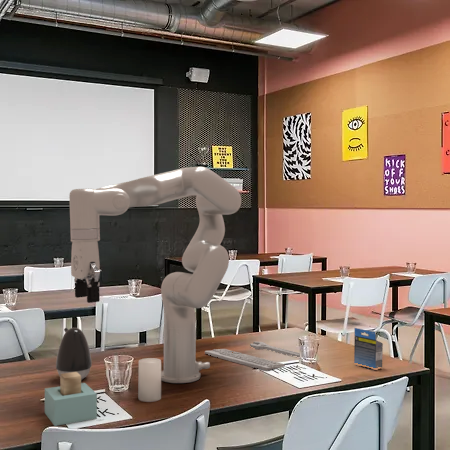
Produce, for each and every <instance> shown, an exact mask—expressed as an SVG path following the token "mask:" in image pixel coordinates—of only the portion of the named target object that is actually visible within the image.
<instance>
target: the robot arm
mask: <svg viewBox="0 0 450 450" xmlns="http://www.w3.org/2000/svg"><path fill="white" fill-rule="evenodd" d="M193 196H195V197H196V198H195V205H196V209H197V211H198V215H199V217H198V218H199V224H198V227H197V229H196V231H195V233H194V235H193V236H192V238H191V240H190V242H189V244H188V245H187V247H186V249H185V250H184V252H183V254H182V258H181V264H182V266H183V268H184V269H185V270H187V271H188V272H190V273H188V272H182V271H175V272H171V273H169V274H167V275H166V276H165V278H163V280H162V283H161V286H160V295H161V301H162V306H163V307H162V308H163V370H161V382H165V383H170V384H186V383H187V384H188V383H193V382H196V381H198V380H199V379H200V378H201V376H202V375H201V372H200V371H202V370H207V369H210V367H211V363H210V361H205V362H202V361H197V360H196V351H197V349H196V342H197V341H196V337H197V333H196V332H197V327H196V326H197V318H196V312H195V309H200V308H204V307H206V305H208V304H209V303H210V301H211V300H212V298H213V297H214V295H215V294H216V292H217V289H219V286H220V284H221V282H222V280H223V278H224V277H225V275H226V272H227V271H228V268H229V262H230V256H229V252H228V251H227V248H225V247H224V246H222V245H221V243H222V242H223V239H224V237H225V232H226V227H225V222H224V221H225V220H224V217H223V216H225V215H227V216H228V215H232V214H235V213H237V212H238V211H239V210H240V208H241V205H242V197H241V196H242V195H241V194H240V192H239V190H238V189H237V187H235V186H234V185H232V184H231V183H229V182H228V181H227V180H225V179H224V178H223V177H221V176H220V175H219V174H217V173H216V172H214V171H213V170H211V169H209V168H207V167H205V166H191V167H189V166H188V167H182V168H177V169H174V170H170V171H165V172H160V173H157V174H152V175H147V176H143V177H139V178H136V179H133V180H129V181H125V182H120V183H116V184H112V185H111V184H110V185H107V186H103V187H102V186H101V187H99V188H96V189H94V188H75V189H72V190H70V192H69V197H68V198H69V218H70V219H69V221H70V222H69V223H70V226H69V227H70V242H71V255H70V256H71V260H70V265H71V267H70V274H71V276H72V277H73V278H74V298H76V299H78V298H79V299H80V298H85V297H86V302H87V303H90V304H91V303H98V302H100V280H101V279H100V274H101V271H100V270H101V269H100V267H101V265H100V264H101V263H100V253H99V250H100V249H99V243H98V242H99V241H100V240H101V234H100V232H101V231H100V230H101V229H100V227H101V226H100V216H119V215H123V214H124V213H126V212H127V211H128V209H129V208H135V207H149V206H150V207H151V206H152V207H153V206H157V205H161V204H164V203H168V202H171V201H174V200H178V199H183V198H186V197H193Z"/></svg>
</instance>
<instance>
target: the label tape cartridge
mask: <svg viewBox="0 0 450 450" xmlns="http://www.w3.org/2000/svg"><path fill="white" fill-rule="evenodd" d="M376 335H377V334H376V331H371V330H368V329H362V328H357V327H354V346H353V347H354V353H353V354H354V356H353V357H354V360H353V361H354V363H358V364H362V365H366V366H369V367H373V368H378V367H382V368H383V352H384V350H383V345H384V344H383V343H382V342H381V341H378V340H377V337H376ZM354 363H353V364H354Z"/></svg>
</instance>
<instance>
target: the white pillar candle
mask: <svg viewBox="0 0 450 450" xmlns="http://www.w3.org/2000/svg"><path fill="white" fill-rule="evenodd" d="M161 371H162V359H160V358H156V357H148V358H147V357H146V358H142V359H141V358H140V359H139V360H138V374H137V375H138V381H137V383H138V386H137V387H138V391H137V392H138V393H137V394H138V395H137V396H138V401H141V402H146V403H153V402H157V401H160V400H161V399H162V380H161Z"/></svg>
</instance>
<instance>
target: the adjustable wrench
mask: <svg viewBox="0 0 450 450" xmlns="http://www.w3.org/2000/svg"><path fill="white" fill-rule="evenodd" d="M250 346H251V347H253V348H255V349H254V350H263V349H267V350H266V351H269V350H271V351H270V352H273V351H275V352H274V353H277V352H279V353H278V354H281V353H282V354H281V355H285V354H287V355H286V356H289V355H292V356H291V357H293V356H297V357H300V352H297V351H293V350H289V349H285V348H280V347H276V346H272V345H269V344H267V343H266V342H263V341H253V342H252V343H249V347H250ZM251 347H250V348H251ZM253 348H252V349H253ZM297 357H296V358H297Z"/></svg>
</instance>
